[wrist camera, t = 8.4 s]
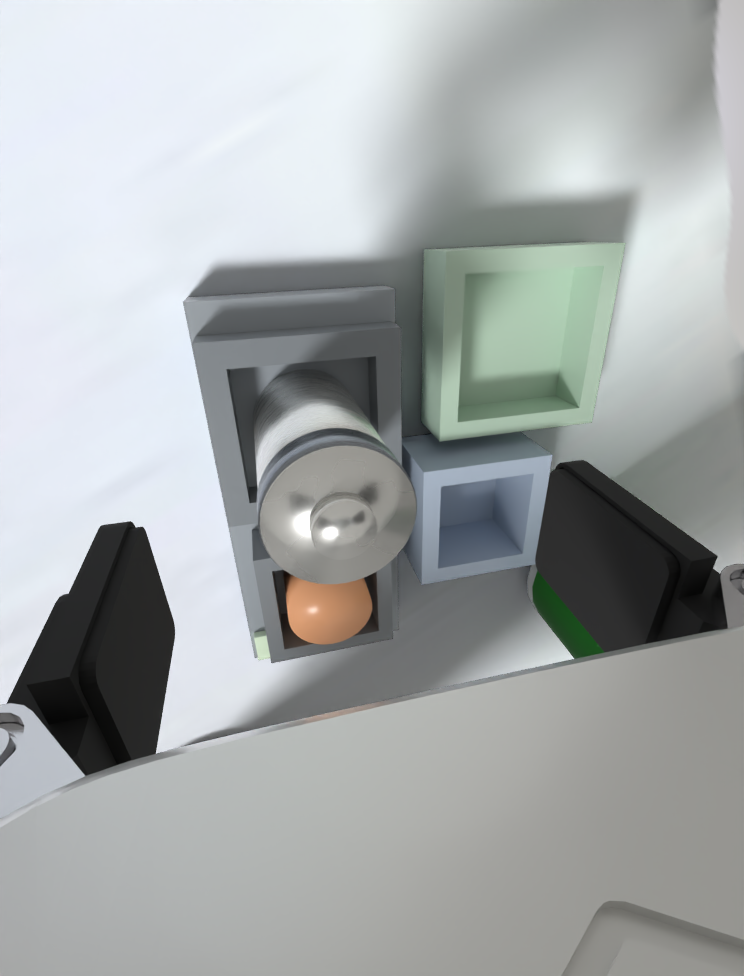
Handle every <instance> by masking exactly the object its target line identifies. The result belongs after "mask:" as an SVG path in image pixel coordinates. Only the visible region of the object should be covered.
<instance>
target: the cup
mask: <svg viewBox="0 0 744 976" xmlns="http://www.w3.org/2000/svg"><path fill="white" fill-rule="evenodd" d="M551 461H552V454H550V453H549V452H548V451H546V450H545V449H543V448H542V447H541V446H539V445H538V444H536V443H535V442H534V441H532V440H531V439H529V438H528V437H527V436H525V435H524V434H522V433H521V432H512V433H504V434H496V435H488V436H480V437H472V438H464V439H456V440H448V441H439V440H438V439H437V438H436V437H435V436H434V435H433V434H428V435H420V436H411V437H403V438H402V467H403V468H404V470H405V471H406V473H407V474H408V476H409V478H410V480H411V481H412V484H413V487H414V489H415V494H416V499H417V513H416V519H415V524H414V527H413V530H412V532H411V535H410V537H409V539H408V541H407V542H406V544H405V545H404V547H403V549H404V551H405V553H406V555H407V557H408V559H409V561H410V563H411V565H412V567H413V569H414V571H415V573H416V575H417V577H418V579H419V581H420V583H421V585H424V584H430V583H435V582H441V581H446V580H452V579H457V578H463V577H468V576H474V575H479V574H485V573H490V572H496V571H501V570H507V569H512V568H518V567H523V566H529V565H534V564H536V563H535V556H536V551H537V545H538V539H539V533H540V528H541V522H542V516H543V510H544V505H545V499H546V493H547V487H548V481H549V474H550V468H551Z"/></svg>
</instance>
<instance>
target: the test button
mask: <svg viewBox="0 0 744 976" xmlns="http://www.w3.org/2000/svg"><path fill="white" fill-rule="evenodd" d="M283 577H284V586H285V595H286V603H287V611H288V620H289V624H290V627H291V629H292V630H293V632H294V633H295V634H296V635H297V636H298V637H300V638H301V639H303V640H305V641H307V642H310V643H314V644H323V645H324V644H334V643H338V642H341V641H344V640H346V639H348V638H350V637H352V636H354V635H355V634H356V633H358V632H359V631H360V630H361V629H362V628H363V627H364V626H365V625H366V623H367V622H368V620H369V618H370V615H371V612H372V600H371V596H370V594H369V591H368V588H367V585H366V582H365V579H364V578H362V579H359V580H356V581H352V582H347V583H341V584H318V583H313V582H308V581H305V580H302V579H299V578H297V577H295V576H293V575H291V574H289V573H288V572H286V571H285V570H284V573H283Z"/></svg>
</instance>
